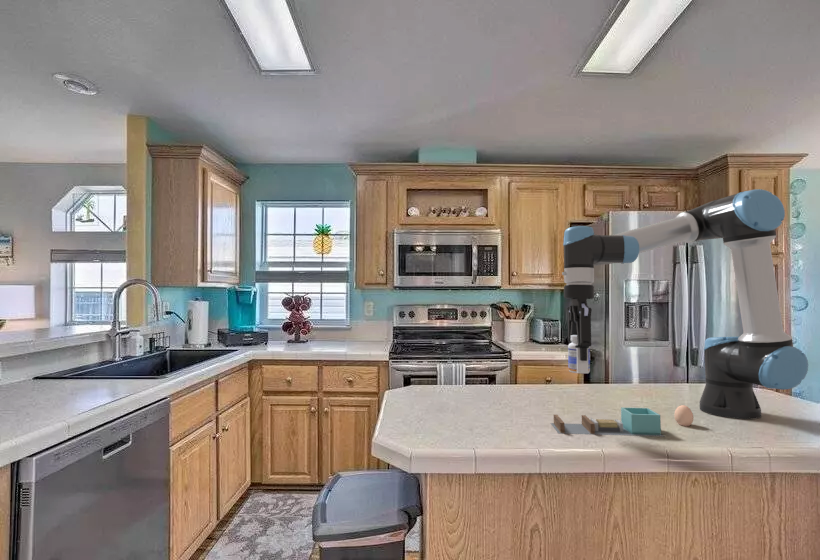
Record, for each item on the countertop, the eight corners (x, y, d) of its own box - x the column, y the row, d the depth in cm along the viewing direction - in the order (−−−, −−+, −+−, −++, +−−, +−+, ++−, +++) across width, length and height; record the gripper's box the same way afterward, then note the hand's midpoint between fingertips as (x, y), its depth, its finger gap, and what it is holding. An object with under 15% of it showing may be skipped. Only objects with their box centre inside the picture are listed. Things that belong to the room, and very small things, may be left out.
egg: (696, 429, 115) (695, 407, 115) (677, 427, 116) (676, 406, 117) (691, 424, 119) (690, 403, 119) (672, 423, 121) (672, 402, 121)
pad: (613, 424, 115) (613, 419, 115) (617, 427, 112) (617, 422, 112) (596, 423, 115) (596, 419, 116) (599, 427, 112) (599, 422, 113)
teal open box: (648, 426, 116) (648, 408, 116) (660, 435, 109) (660, 415, 109) (621, 426, 117) (621, 407, 117) (631, 434, 110) (631, 414, 110)
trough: (585, 424, 118) (585, 415, 118) (594, 433, 110) (594, 423, 110) (553, 423, 119) (553, 414, 119) (560, 432, 111) (560, 422, 111)
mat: (648, 427, 117) (648, 425, 117) (664, 438, 108) (664, 436, 108) (550, 424, 120) (550, 423, 120) (558, 434, 111) (558, 433, 111)
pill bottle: (587, 370, 117) (587, 335, 117) (592, 374, 112) (591, 336, 112) (566, 370, 118) (566, 334, 118) (570, 373, 113) (569, 336, 113)
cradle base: (618, 427, 115) (617, 419, 115) (623, 431, 112) (623, 423, 112) (590, 427, 116) (590, 418, 116) (595, 431, 112) (594, 422, 112)
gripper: (556, 285, 125) (556, 365, 124) (573, 282, 107) (574, 376, 106) (582, 285, 125) (583, 366, 124) (605, 283, 106) (605, 377, 105)
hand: (579, 370), depth 115 cm, fingers closed on pill bottle, 5 cm apart
